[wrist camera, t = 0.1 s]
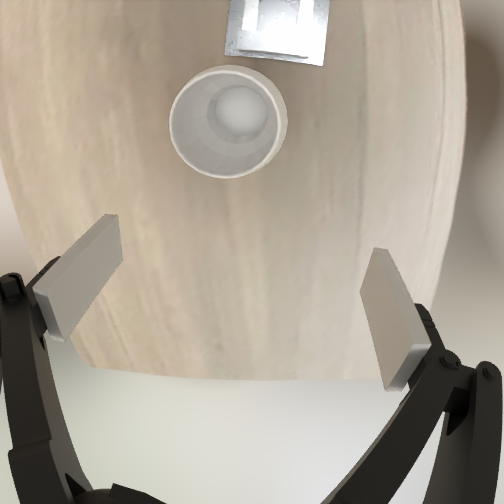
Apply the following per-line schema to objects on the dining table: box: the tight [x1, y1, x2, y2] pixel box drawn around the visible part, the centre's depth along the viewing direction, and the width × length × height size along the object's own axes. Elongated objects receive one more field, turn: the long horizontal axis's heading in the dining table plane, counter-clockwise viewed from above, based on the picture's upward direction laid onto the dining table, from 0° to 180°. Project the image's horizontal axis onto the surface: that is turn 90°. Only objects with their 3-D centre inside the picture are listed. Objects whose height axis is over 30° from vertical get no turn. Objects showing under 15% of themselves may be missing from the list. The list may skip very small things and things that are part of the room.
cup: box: [169, 65, 288, 179], centre depth 32 cm, size 11×11×15 cm
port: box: [224, 0, 330, 66], centre depth 29 cm, size 12×12×5 cm
